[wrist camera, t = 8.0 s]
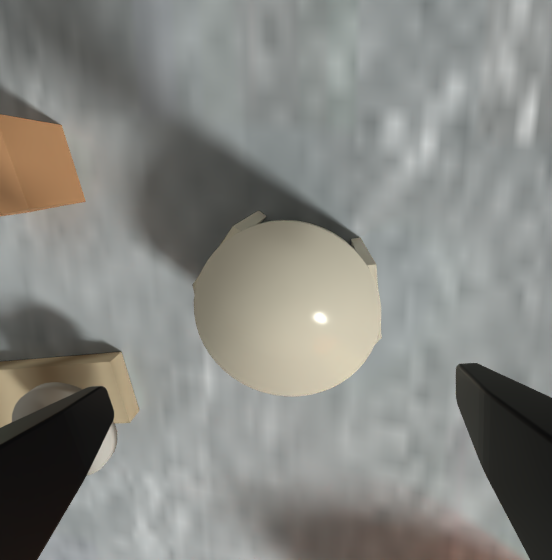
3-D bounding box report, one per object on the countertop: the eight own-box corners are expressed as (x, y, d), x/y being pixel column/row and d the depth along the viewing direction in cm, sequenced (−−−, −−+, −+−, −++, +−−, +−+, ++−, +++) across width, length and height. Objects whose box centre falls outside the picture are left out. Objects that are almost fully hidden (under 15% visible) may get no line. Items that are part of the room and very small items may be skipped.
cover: (368, 327, 19) (386, 391, 14) (243, 337, 21) (213, 400, 15) (357, 196, 17) (374, 208, 12) (220, 215, 19) (175, 235, 13)
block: (86, 201, 19) (29, 208, 16) (25, 212, 20) (-44, 222, 16) (62, 125, 18) (-6, 113, 15) (-1, 140, 19) (-82, 132, 15)
